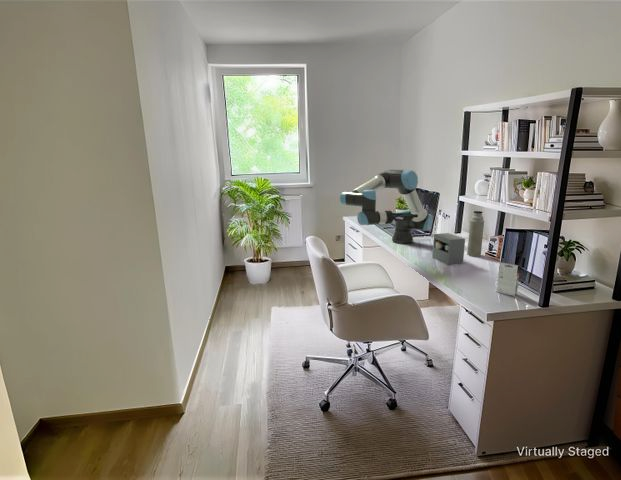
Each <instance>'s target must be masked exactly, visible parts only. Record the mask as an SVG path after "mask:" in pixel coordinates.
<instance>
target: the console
mask: <svg viewBox="0 0 621 480" xmlns="http://www.w3.org/2000/svg"><path fill="white" fill-rule="evenodd" d="M438 241H441V242H444V243H445V246H446V245H449V247H448V250H445V247H442V248H441V249H436V247H435V245H436V242H438ZM465 245H466V238H464V237H461V236H459V235H456V234H453V233H449V232H446V233H445V232H444V233H434V234H433V245H432V257H431V258H433V259H434V260H436V259H437V261H438V260H439V262H440V263H443V264H445V265H447V266H452V265H453V266H454V265H462V264H464V258H465V257H464V256H465V247H466V246H465Z"/></svg>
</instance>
